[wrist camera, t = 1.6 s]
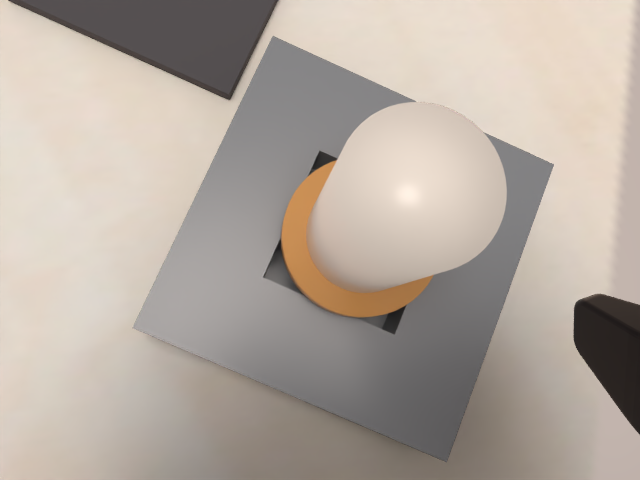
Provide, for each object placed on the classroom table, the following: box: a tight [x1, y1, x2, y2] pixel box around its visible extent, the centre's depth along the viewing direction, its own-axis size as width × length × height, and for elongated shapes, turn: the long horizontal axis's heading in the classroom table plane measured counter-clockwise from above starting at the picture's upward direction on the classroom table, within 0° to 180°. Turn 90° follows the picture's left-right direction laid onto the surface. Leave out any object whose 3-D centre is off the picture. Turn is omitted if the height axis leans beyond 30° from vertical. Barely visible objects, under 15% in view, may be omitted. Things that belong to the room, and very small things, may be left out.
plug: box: [281, 102, 507, 318], centre depth 19 cm, size 6×6×11 cm
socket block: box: [133, 36, 554, 462], centre depth 23 cm, size 12×12×3 cm
